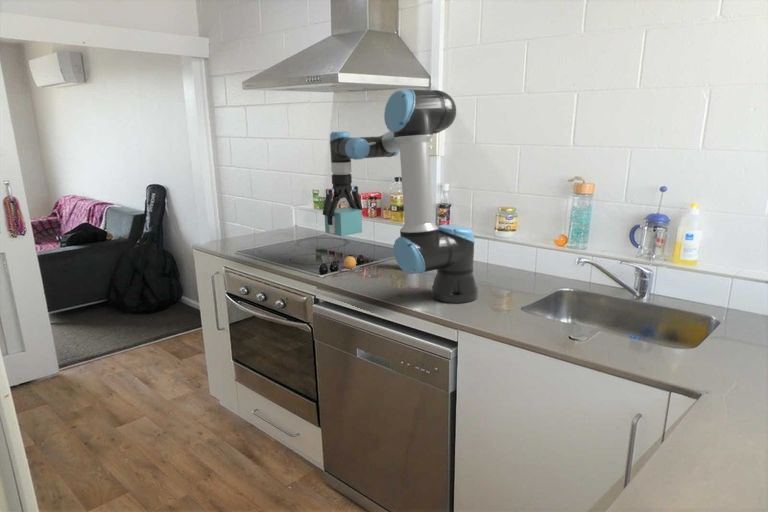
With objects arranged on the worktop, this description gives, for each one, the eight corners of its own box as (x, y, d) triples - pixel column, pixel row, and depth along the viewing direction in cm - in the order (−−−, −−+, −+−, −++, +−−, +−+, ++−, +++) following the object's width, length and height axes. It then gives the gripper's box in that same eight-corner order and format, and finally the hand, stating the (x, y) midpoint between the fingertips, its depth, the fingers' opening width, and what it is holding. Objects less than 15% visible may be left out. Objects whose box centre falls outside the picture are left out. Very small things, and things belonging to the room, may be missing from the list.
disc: (366, 267, 206) (366, 266, 206) (342, 273, 198) (342, 272, 198) (347, 261, 214) (347, 261, 214) (323, 267, 207) (323, 266, 207)
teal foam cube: (362, 232, 202) (361, 209, 200) (341, 236, 196) (340, 213, 193) (345, 228, 210) (345, 207, 207) (325, 232, 203) (324, 210, 201)
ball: (349, 256, 207) (352, 268, 207) (339, 258, 203) (342, 270, 204) (357, 254, 203) (360, 266, 203) (347, 256, 200) (350, 269, 200)
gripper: (358, 170, 207) (360, 225, 213) (310, 175, 192) (314, 234, 198) (370, 171, 202) (372, 227, 207) (322, 176, 187) (325, 236, 192)
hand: (343, 230), depth 202 cm, fingers closed on teal foam cube, 10 cm apart
